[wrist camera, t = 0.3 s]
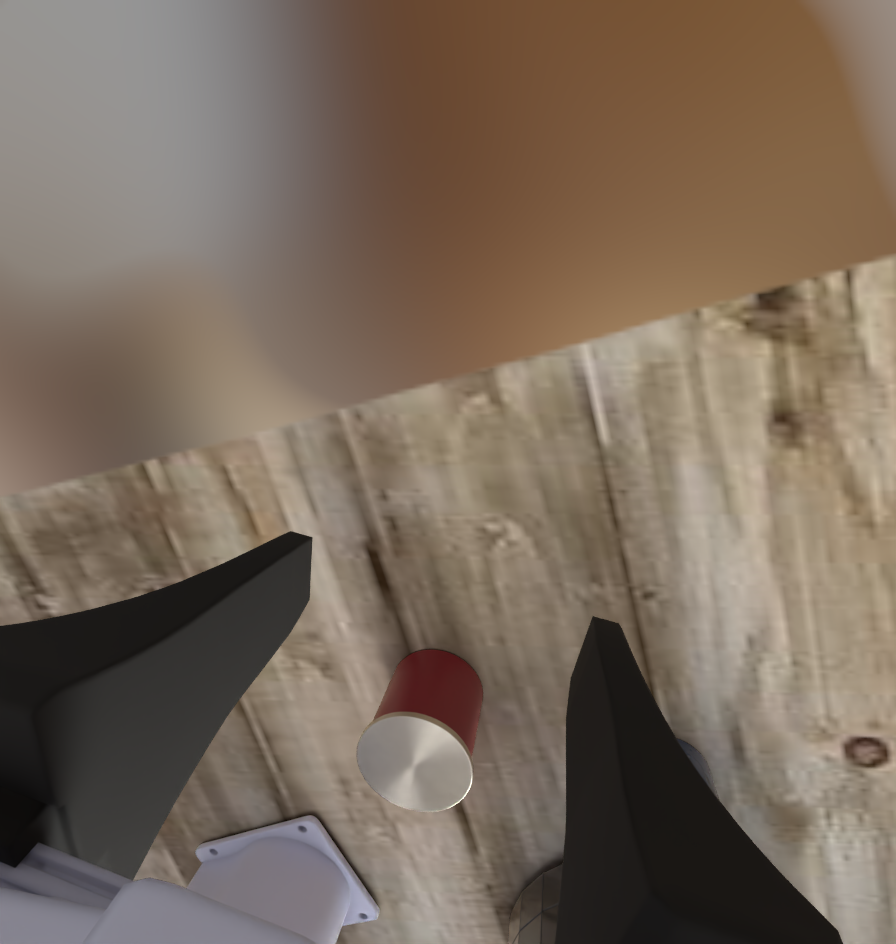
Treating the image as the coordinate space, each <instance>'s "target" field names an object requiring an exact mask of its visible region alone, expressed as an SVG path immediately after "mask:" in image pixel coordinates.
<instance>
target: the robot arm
mask: <svg viewBox="0 0 896 944" xmlns="http://www.w3.org/2000/svg"><path fill="white" fill-rule="evenodd" d="M311 555H312V537H309V536H306V535H302V534H299V533H295V532H291V531H290V532H288V533H286V534H283V535H281V536H279V537H277V538H275V539H273V540H271V541H269V542H267V543H265V544H263V545H261V546H259V547H257V548H255V549H252V550H250V551H248V552H246V553H244V554H242V555H240V556H238V557H236V558H234V559H232V560H229V561H227V562H225V563H223V564H221V565H219V566H216V567H214V568H212V569H209V570H207V571H205V572H202V573H200V574H197V575H195V576H193V577H190V578H188V579H186V580H183V581H181V582H178V583H176V584H173V585H170V586H167V587H165V588H162V589H159V590H156V591H153V592H150V593H147V594H144V595H141V596H138V597H135V598H131V599H128V600H124V601H120V602H117V603H113V604H109V605H105V606H102V607H98V608H94V609H91V610H86V611H82V612H77V613H73V614H68V615H64V616H59V617H53V618H48V619H43V620H38V621H32V622H26V623H19V624H12V625H5V626H0V944H336V941H337V939H338V936H339V933H340V930H341V927H342V926H344V925H350V924H355V923H361V922H366V921H372V920H375V919H377V918H378V915H379V907H378V906H377V904H376V903H375V901H374V900H373V898H372V897H371V896H370V894H369V893H368V891H367V890H366V888H365V887H364V885H363V884H362V882H361V881H360V880H359V878H358V877H357V875H356V874H355V872H354V871H353V869H352V868H351V866H350V865H349V864H348V862H347V861H346V859H345V858H344V856H343V855H342V853H341V852H340V851H339V849H338V848H337V846H336V845H335V843H334V842H333V840H332V839H331V837H330V836H329V835H328V833H327V832H326V830H325V829H324V827H323V826H322V824H321V823H320V821H319V820H318V819H317V818H316V817H314V816H312V815H308V816H304V817H300V818H296V819H293V820H289V821H285V822H281V823H278V824H274V825H270V826H266V827H263V828H259V829H255V830H251V831H248V832H244V833H240V834H236V835H233V836H229V837H225V838H221V839H218V840H214V841H210V842H206V843H203V844H200V845H199V846H198V848H197V849H196V851H195V852H196V856H197V857H198V859H199V860H200V861H201V862H202V864H201V866H200V867H199V869H198V871H197V872H196V874H195V875H194V877H193V878H192V880H191V882H190V883H189V885H188V886H187V888H184V887H181V886H179V885H176V884H174V883H170V882H166V881H162V880H158V879H153V878H145V879H141V880H137V881H133V879H134V877H135V875H136V873H137V872H138V870H139V868H140V866H141V864H142V862H143V860H144V858H145V856H146V855H147V853H148V851H149V849H150V847H151V845H152V843H153V841H154V839H155V838H156V836H157V834H158V832H159V830H160V829H161V827H162V825H163V823H164V821H165V820H166V818H167V816H168V814H169V813H170V811H171V809H172V807H173V805H174V804H175V802H176V800H177V798H178V797H179V795H180V793H181V791H182V790H183V788H184V786H185V784H186V783H187V781H188V779H189V778H190V776H191V774H192V773H193V771H194V769H195V768H196V766H197V764H198V763H199V761H200V759H201V757H202V756H203V754H204V752H205V751H206V749H207V748H208V746H209V744H210V743H211V741H212V740H213V738H214V736H215V735H216V733H217V732H218V730H219V728H220V727H221V725H222V724H223V722H224V720H225V719H226V717H227V716H228V714H229V713H230V712H231V710H232V709H233V707H234V706H235V705H236V703H237V702H238V700H239V699H240V698H241V697H242V695H243V694H244V693H245V691H246V690H247V689H248V687H249V686H250V685H251V684H252V682H253V681H254V680H255V678H256V677H257V676H258V675H259V673H260V672H261V671H262V669H263V668H264V667H265V665H266V664H267V663H268V662H269V660H270V659H271V658H272V656H273V655H274V654H275V652H276V651H277V650H278V648H279V647H280V646H281V645H282V643H283V642H284V641H285V639H286V638H287V637H288V635H289V634H290V632H291V631H292V629H293V627H294V626H295V624H296V622H297V621H298V619H299V617H300V616H301V614H302V612H303V610H304V608H305V607H306V605H307V603H308V601H309V598H310V577H311ZM555 944H843V942H842V940H841V937H840V935H839V932H838V930H837V929H836V928H835V927H834V926H833V925H832V924H831V923H830V922H829V921H828V920H827V919H826V918H825V917H824V916H823V915H822V914H821V913H820V912H819V911H818V910H817V909H816V908H815V907H814V906H813V905H812V904H811V903H810V902H809V901H808V900H807V899H806V898H805V897H804V896H803V895H802V894H801V893H800V892H799V891H798V890H797V889H796V888H795V887H794V886H793V885H792V884H791V883H790V882H789V881H788V880H787V879H786V878H785V877H784V876H783V875H782V874H781V873H780V872H779V870H778V869H777V868H776V867H775V866H774V865H773V864H772V863H771V862H770V860H769V859H768V858H767V857H766V856H765V855H764V854H763V853H762V852H761V850H760V849H759V848H758V847H757V846H756V845H755V844H754V843H753V841H752V840H751V839H750V838H749V837H748V835H747V834H746V833H745V832H744V831H743V830H742V828H741V827H740V826H739V825H738V824H737V822H736V821H735V820H734V819H733V817H732V816H731V815H730V813H729V812H728V811H727V810H726V808H725V807H724V806H723V805H722V803H721V802H720V801H719V800H718V798H717V797H716V796H715V794H714V793H713V792H712V790H711V789H710V788H709V786H708V785H707V784H706V782H705V781H704V780H703V778H702V777H701V775H700V774H699V772H698V771H697V769H696V768H695V767H694V765H693V764H692V762H691V761H690V759H689V758H688V756H687V755H686V753H685V752H684V750H683V748H682V747H681V745H680V744H679V742H678V740H677V739H676V737H675V735H674V734H673V732H672V730H671V729H670V727H669V725H668V723H667V722H666V720H665V718H664V716H663V715H662V713H661V711H660V709H659V707H658V705H657V703H656V702H655V700H654V698H653V696H652V694H651V692H650V690H649V688H648V686H647V684H646V682H645V680H644V678H643V676H642V674H641V671H640V669H639V667H638V665H637V663H636V660H635V658H634V656H633V654H632V651H631V649H630V647H629V645H628V642H627V640H626V637H625V635H624V632H623V630H622V628H621V626H620V625H619V623H615V622H612V621H608V620H605V619H601V618H598V617H594V616H593V617H592V620H591V623H590V626H589V628H588V631H587V634H586V637H585V640H584V642H583V645H582V648H581V651H580V654H579V657H578V659H577V662H576V665H575V668H574V671H573V673H572V676H571V681H570V689H569V697H568V706H567V715H566V834H565V845H564V856H563V867H562V878H561V888H560V898H559V907H558V917H557V927H556V936H555Z"/></svg>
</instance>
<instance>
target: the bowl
mask: <svg viewBox="0 0 896 944" xmlns="http://www.w3.org/2000/svg"><path fill="white" fill-rule="evenodd" d="M562 867H563V864H561V865H559V866H557V867H555V868H552V869H550V870H548V871H546V872H544V873H542V874H541V875H540V876H539V877H537V878H536V879H535V880H534V881H533V882H532V883H531V884H530V885H529V886H528V887H526V888H525V889H524V890H523V891H522V892H521V894H520V896H519V898H518V900H517V902H516V904H515V906H514V908H513V910H512V912H511V914H510V922H509V934H508V944H555V936H556V927H557V917H558V907H559V898H560V888H561V878H562Z"/></svg>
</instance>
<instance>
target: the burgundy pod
mask: <svg viewBox="0 0 896 944" xmlns="http://www.w3.org/2000/svg"><path fill="white" fill-rule="evenodd" d="M482 701H483V689H482V685H481V682H480V680H479V678H478V675H477V674H476V672H475V671H474V670H473V669H472V667H471V666H470V665H469V664H467V663H466V662H465V661H464V660H462V659H461V658H459V657H457V656H456V655H453V654H451V653H448V652H445V651H441V650H421V651H418V652H415V653H412V654H410V655H409V656H407V657H405V658H404V659H403V660H402V661H401V662H400V663H399V664H398V666H397V668H396V670H395V672H394V674H393V676H392V679H391V681H390V683H389V686H388V688H387V690H386V692H385V695H384V697H383V699H382V701H381V704H380V706H379V708H378V711H377V713H376V715H375V717H374V720H373V721H372V722H371V723H370V724H369V725H368V726H367V727H366V728H365V730H364V731H363V733H362V735H361V737H360V740H359V742H358V746H357V762H358V765H359V768H360V771H361V773H362V775H363V777H364V779H365V780H366V781H367V783H368V784H369V785H370V786H371V788H372V789H373V790H374V791H375V792H377V793H378V794H379V795H380V796H382V797H383V798H384V799H386V800H387V801H389V802H391V803H393V804H395V805H397V806H399V807H402V808H405V809H409V810H413V811H419V812H435V811H441V810H444V809H447V808H450V807H452V806H454V805H455V804H457V803H458V802H460V801H461V800H462V799H463V798H464V797H465V795H466V794H467V793H468V791H469V789H470V787H471V783H472V779H473V772H474V768H473V761H472V753H473V748H474V743H475V738H476V732H477V727H478V722H479V717H480V711H481V706H482Z"/></svg>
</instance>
